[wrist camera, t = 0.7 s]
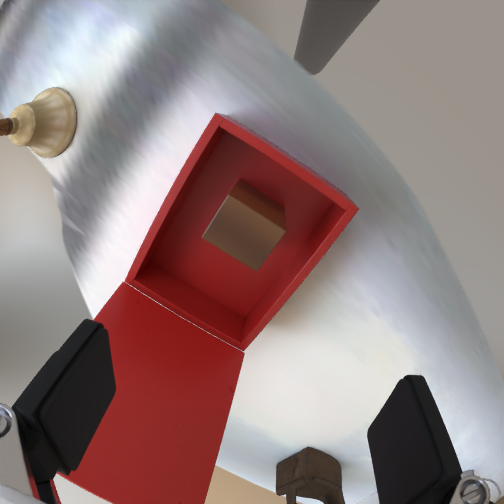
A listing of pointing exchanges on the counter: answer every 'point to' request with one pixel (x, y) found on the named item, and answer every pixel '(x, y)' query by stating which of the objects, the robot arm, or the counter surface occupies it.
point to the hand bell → (43, 123)
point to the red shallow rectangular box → (217, 261)
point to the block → (247, 225)
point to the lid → (159, 406)
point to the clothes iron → (310, 477)
